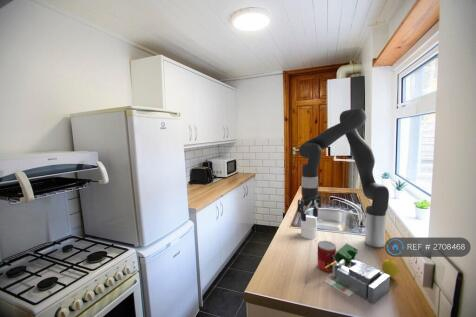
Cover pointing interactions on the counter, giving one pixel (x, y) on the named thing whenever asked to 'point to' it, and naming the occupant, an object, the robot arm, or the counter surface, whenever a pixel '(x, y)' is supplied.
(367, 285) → the box
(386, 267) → the lemon
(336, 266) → the plunger
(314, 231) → the white container
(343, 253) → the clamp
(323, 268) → the canned food
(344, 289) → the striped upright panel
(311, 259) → the counter surface
